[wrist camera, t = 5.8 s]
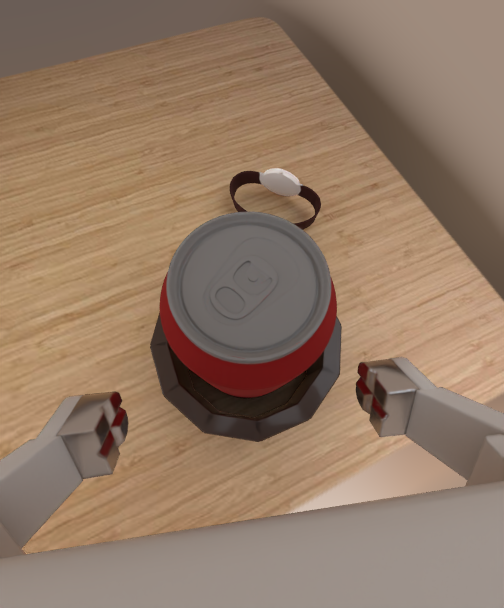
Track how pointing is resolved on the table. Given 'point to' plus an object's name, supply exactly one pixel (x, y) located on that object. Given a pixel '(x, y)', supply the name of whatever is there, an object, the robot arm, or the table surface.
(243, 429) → the faceted ring
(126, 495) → the table surface
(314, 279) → the beverage can
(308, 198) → the watch
